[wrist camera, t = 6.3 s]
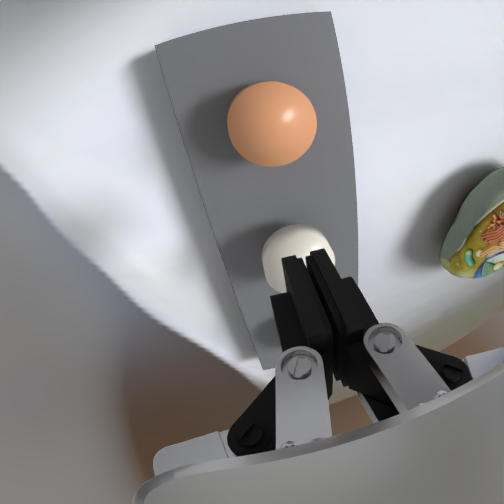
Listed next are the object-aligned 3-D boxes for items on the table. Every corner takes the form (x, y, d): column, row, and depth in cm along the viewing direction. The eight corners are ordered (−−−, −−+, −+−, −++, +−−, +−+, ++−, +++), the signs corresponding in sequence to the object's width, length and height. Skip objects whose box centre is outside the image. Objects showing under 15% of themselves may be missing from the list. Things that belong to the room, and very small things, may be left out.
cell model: (536, 235, 24) (482, 327, 22) (490, 203, 29) (428, 281, 27) (562, 163, 16) (522, 261, 14) (502, 130, 21) (440, 204, 19)
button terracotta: (218, 90, 15) (217, 93, 13) (300, 74, 14) (308, 75, 13) (237, 166, 17) (239, 175, 16) (314, 149, 17) (322, 157, 16)
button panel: (161, 47, 15) (154, 45, 13) (320, 15, 14) (330, 11, 13) (261, 355, 32) (263, 370, 30) (349, 333, 32) (355, 347, 30)
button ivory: (255, 233, 19) (257, 247, 18) (325, 216, 19) (332, 229, 18) (268, 286, 22) (271, 301, 21) (329, 271, 22) (336, 285, 21)
